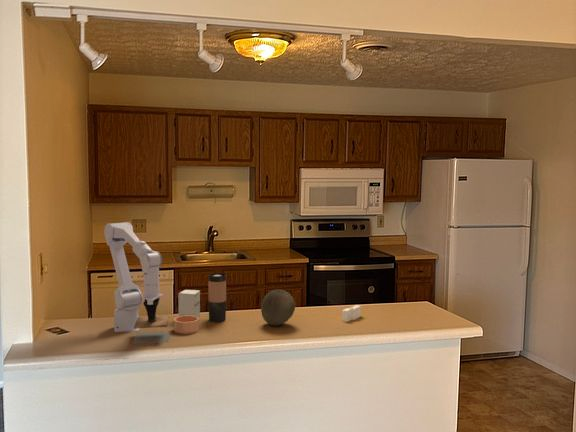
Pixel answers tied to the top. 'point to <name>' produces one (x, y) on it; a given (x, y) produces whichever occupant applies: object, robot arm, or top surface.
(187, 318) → the terracotta bowl
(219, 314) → the travel mug
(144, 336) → the slate mat
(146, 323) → the walnut cover
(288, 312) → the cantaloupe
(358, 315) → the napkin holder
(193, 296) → the supplement box
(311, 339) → the top surface
